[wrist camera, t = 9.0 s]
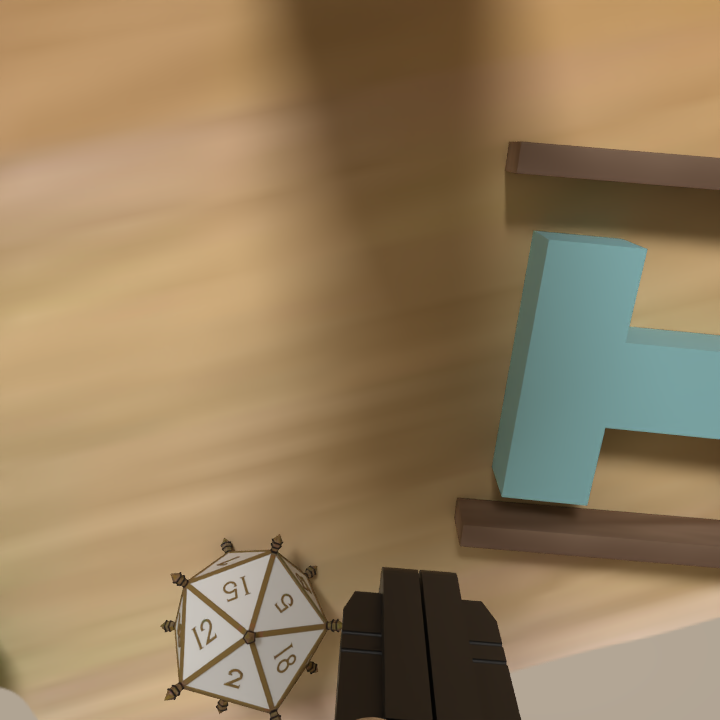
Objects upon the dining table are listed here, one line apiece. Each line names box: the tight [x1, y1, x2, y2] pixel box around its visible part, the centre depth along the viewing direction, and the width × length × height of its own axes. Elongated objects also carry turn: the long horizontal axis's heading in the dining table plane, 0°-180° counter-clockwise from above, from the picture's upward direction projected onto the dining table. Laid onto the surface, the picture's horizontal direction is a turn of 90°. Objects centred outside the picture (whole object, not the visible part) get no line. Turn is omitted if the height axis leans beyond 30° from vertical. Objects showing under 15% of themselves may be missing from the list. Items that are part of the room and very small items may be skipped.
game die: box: [161, 534, 342, 720], centre depth 31 cm, size 9×8×10 cm
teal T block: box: [492, 231, 720, 506], centre depth 29 cm, size 12×11×3 cm
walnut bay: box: [455, 142, 720, 568], centre depth 29 cm, size 19×15×2 cm
